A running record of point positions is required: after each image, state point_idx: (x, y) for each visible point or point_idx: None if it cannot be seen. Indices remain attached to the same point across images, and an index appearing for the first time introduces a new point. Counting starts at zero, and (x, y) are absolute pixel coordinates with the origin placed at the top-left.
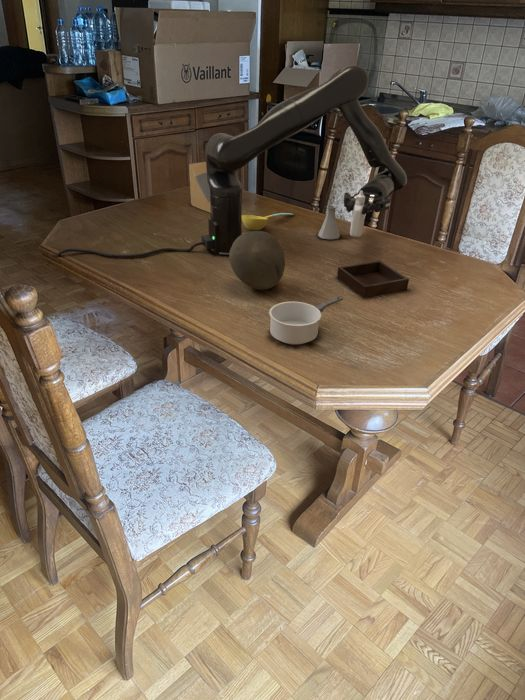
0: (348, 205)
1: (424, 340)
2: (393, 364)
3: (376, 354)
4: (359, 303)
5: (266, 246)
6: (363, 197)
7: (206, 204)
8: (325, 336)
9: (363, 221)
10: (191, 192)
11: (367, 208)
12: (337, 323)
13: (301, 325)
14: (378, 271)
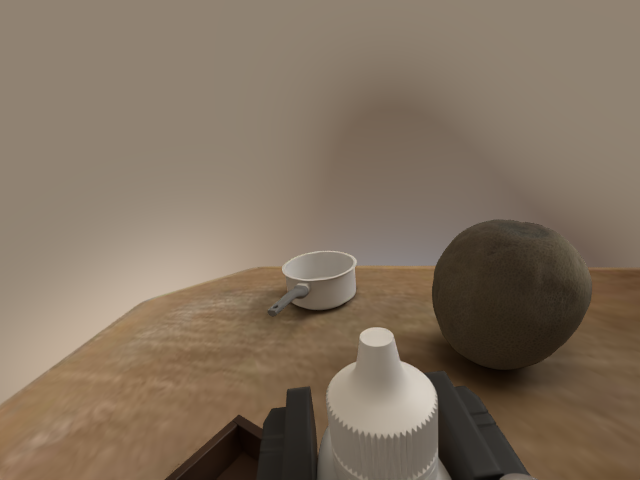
0: (435, 374)
1: (115, 366)
2: (178, 310)
3: (201, 313)
4: (251, 415)
5: (455, 237)
6: (333, 379)
7: None
8: (280, 311)
9: None
10: None
11: (272, 410)
12: (275, 338)
13: (297, 256)
14: None
